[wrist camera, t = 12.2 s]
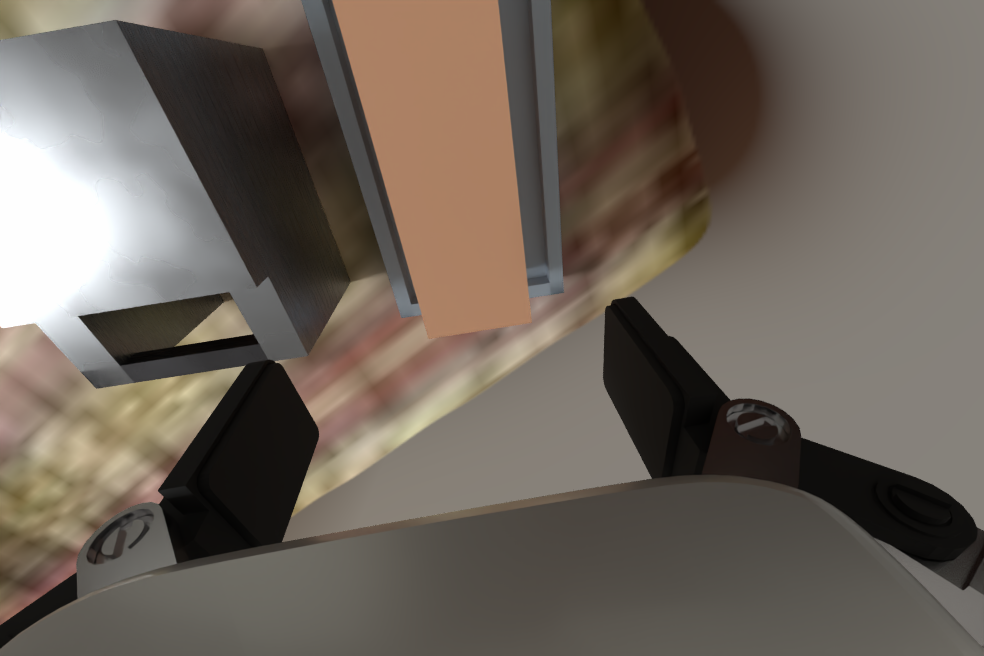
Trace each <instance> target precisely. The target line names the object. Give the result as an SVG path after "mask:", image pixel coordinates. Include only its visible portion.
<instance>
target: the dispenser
mask: <svg viewBox="0 0 984 656" xmlns="http://www.w3.org/2000/svg"><path fill="white" fill-rule="evenodd" d="M349 284H350V280H349V277H348V274H347V272H346V269H345V266H344V264H343V261H342V258H341V256H340V253H339V251H338V248H337V245H336V243H335V240H334V237H333V235H332V232H331V229H330V227H329V224H328V221H327V219H326V216H325V213H324V211H323V208H322V206H321V203H320V200H319V198H318V195H317V192H316V190H315V187H314V184H313V182H312V179H311V176H310V174H309V171H308V168H307V166H306V163H305V161H304V158H303V155H302V153H301V150H300V147H299V145H298V142H297V139H296V137H295V134H294V131H293V129H292V126H291V123H290V121H289V118H288V116H287V113H286V110H285V108H284V105H283V102H282V100H281V97H280V94H279V92H278V89H277V86H276V84H275V81H274V78H273V76H272V73H271V71H270V68H269V65H268V63H267V60H266V57H265V55H264V52H263V49H262V48H257V47H251V46H246V45H241V44H236V43H231V42H226V41H221V40H215V39H210V38H205V37H200V36H195V35H190V34H184V33H179V32H174V31H169V30H164V29H159V28H154V27H148V26H143V25H138V24H133V23H128V22H123V21H118V20H113V21H107V22H102V23H96V24H90V25H84V26H79V27H73V28H67V29H62V30H56V31H50V32H44V33H39V34H33V35H27V36H22V37H16V38H10V39H4V40H0V326H1V327H2V328H6V327H12V326H19V325H25V324H31V323H36V324H37V325H38V326H39V328H40V329H41V330H42V331H43V332H44V333H45V334H46V335H47V336H48V337H49V338H50V339H51V340H52V341H53V343H54V344H55V345H56V346H57V347H58V348H59V349H60V350H61V351H62V352H63V353H64V354H65V355H66V357H67V358H68V359H69V360H70V361H71V362H72V363H73V364H74V365H75V366H76V367H77V368H78V369H79V370H80V372H81V373H82V374H83V375H84V376H85V377H86V378H87V379H88V380H89V381H90V382H91V383H92V384H93V385H94V387H95V388H96V389H97V388H103V387H110V386H116V385H123V384H129V383H136V382H142V381H149V380H155V379H161V378H168V377H174V376H181V375H187V374H194V373H200V372H207V371H213V370H220V369H226V368H233V367H239V366H245V365H247V364H248V363H251V362H257V361H263V360H269V359H270V360H273V361H278V360H284V359H291V358H297V357H304V356H308V355H309V353H310V352H311V350H312V348H313V346H314V345H315V343H316V341H317V339H318V338H319V336H320V334H321V332H322V331H323V329H324V327H325V326H326V324H327V322H328V320H329V319H330V317H331V315H332V313H333V312H334V310H335V308H336V306H337V305H338V303H339V301H340V299H341V298H342V296H343V294H344V293H345V291H346V289H347V287H348V286H349ZM226 292H230V294H231V296H232V297H233V299H234V301H235V303H236V304H237V306H238V308H239V310H240V311H241V313H242V315H243V317H244V318H245V320H246V322H247V323H248V325H249V327H250V329H251V330H252V332H253V334H252V335H246V336H239V337H233V338H227V339H220V340H214V341H208V342H201V343H195V344H188V345H182V346H176V345H177V344H178V343H179V342H180V341H181V340H182V339H183V338H184V337H186V336H187V335H188V334H189V333H190V332H191V331H192V330H193V329H194V328H196V327H197V326H198V325H199V324H200V323H201V322H202V321H203V320H204V319H206V318H207V317H208V316H209V315H210V314H211V313H212V312H213V311H214V310H216V309H217V308H218V307H219V306H220V305H221V304H222V303H223V300H222V299H221V297H220V295H219V294H220V293H226ZM174 346H176V347H174Z"/></svg>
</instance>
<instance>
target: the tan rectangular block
mask: <svg viewBox="0 0 984 656" xmlns="http://www.w3.org/2000/svg"><path fill="white" fill-rule="evenodd" d="M332 1H333V5H334V8H335V12H336V15H337V19H338V22H339V26H340V29H341V33H342V37H343V40H344V44H345V47H346V51H347V54H348V58H349V61H350V65H351V68H352V72H353V75H354V79H355V82H356V86H357V89H358V93H359V96H360V100H361V103H362V107H363V110H364V114H365V117H366V121H367V124H368V128H369V131H370V135H371V138H372V142H373V145H374V149H375V152H376V156H377V159H378V163H379V166H380V170H381V173H382V177H383V180H384V184H385V187H386V191H387V194H388V198H389V201H390V205H391V209H392V212H393V216H394V219H395V223H396V226H397V230H398V233H399V237H400V240H401V244H402V247H403V251H404V254H405V258H406V261H407V265H408V268H409V272H410V275H411V279H412V282H413V286H414V289H415V293H416V296H417V300H418V303H419V307H420V310H421V314H422V317H423V321H424V324H425V328H426V331H427V335H428V338H429V339H432V338H438V337H444V336H451V335H457V334H463V333H470V332H476V331H482V330H489V329H495V328H501V327H508V326H514V325H520V324H527V323H532V320H531V311H530V301H529V292H528V282H527V273H526V263H525V253H524V244H523V234H522V225H521V215H520V206H519V196H518V186H517V177H516V167H515V158H514V148H513V139H512V129H511V119H510V110H509V100H508V91H507V81H506V72H505V62H504V53H503V43H502V33H501V24H500V14H499V5H498V0H332Z"/></svg>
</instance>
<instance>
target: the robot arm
mask: <svg viewBox="0 0 984 656" xmlns="http://www.w3.org/2000/svg"><path fill="white" fill-rule="evenodd" d="M603 380H604V385H605V388H606V390H607V392H608V394H609V396H610V398H611V400H612V402H613V404H614V406H615V408H616V410H617V411H618V414H619V415H620V417H621V419H622V421H623V423H624V425H625V427H626V429H627V431H628V433H629V435H630V437H631V439H632V441H633V443H634V445H635V446H636V448H637V450H638V452H639V454H640V456H641V458H642V460H643V462H644V464H645V466H646V468H647V470H648V472H649V474H650V476H651V477H652V479H647V480H641V481H634V482H628V483H621V484H615V485H608V486H602V487H595V488H589V489H583V490H577V491H571V492H565V493H559V494H553V495H547V496H542V497H536V498H530V499H524V500H518V501H513V502H506V503H501V504H495V505H489V506H483V507H478V508H472V509H466V510H460V511H455V512H449V513H444V514H437V515H432V516H426V517H420V518H415V519H409V520H404V521H398V522H392V523H387V524H381V525H375V526H370V527H364V528H358V529H353V530H348V531H343V532H337V533H331V534H325V535H320V536H314V537H309V538H303V539H298V540H293V541H287V542H282V540H283V537H284V535H285V532H286V529H287V526H288V523H289V521H290V518H291V515H292V512H293V509H294V507H295V504H296V501H297V498H298V495H299V493H300V490H301V487H302V484H303V481H304V478H305V476H306V473H307V470H308V467H309V464H310V462H311V459H312V456H313V453H314V450H315V448H316V445H317V442H318V439H319V431H318V427H317V425H316V424H315V422H314V420H313V418H312V417H311V415H310V413H309V411H308V410H307V408H306V406H305V404H304V403H303V401H302V399H301V397H300V396H299V394H298V392H297V391H296V389H295V387H294V385H293V384H292V382H291V380H290V378H289V377H288V375H287V373H286V371H285V370H284V368H283V366H282V365H281V364H279V363H275V362H274V361H273V360H270V359H269V360H263V361H257V362H251V363H248V364H247V365H246V366H245V367H244V369H243V370H242V371H241V373H240V374H239V376H238V377H237V379H236V380H235V381H234V383H233V384H232V386H231V387H230V388H229V390H228V391H227V393H226V394H225V396H224V397H223V398H222V400H221V401H220V403H219V404H218V406H217V407H216V408H215V410H214V411H213V413H212V414H211V416H210V417H209V418H208V420H207V421H206V423H205V424H204V426H203V427H202V428H201V430H200V431H199V433H198V434H197V436H196V437H195V438H194V440H193V441H192V443H191V444H190V445H189V447H188V448H187V450H186V451H185V453H184V454H183V455H182V457H181V458H180V460H179V461H178V463H177V464H176V465H175V467H174V468H173V470H172V471H171V473H170V474H169V475H168V477H167V478H166V480H165V481H164V483H163V484H162V485H161V487H160V488H159V490H158V492H159V493H161V494H162V495H163V496H164V498H163V499H162V501H161V502H160V504H156V503H153V502H148V503H141V504H138V505H135V506H132V507H130V508H128V509H126V510H124V511H122V512H120V513H118V514H117V515H115V516H114V517H112V518H111V519H110V520H108V521H107V522H105V523H104V524H103V525H102V526H101V527H100V528H99V529H98V530H96V531H95V532H94V533H93V534H92V536H91V537H90V538H89V539H88V540H87V542H86V543H85V544H84V546H83V547H82V549H81V551H80V553H79V554H78V559H77V563H76V566H77V572H76V573H75V574H73V575H72V576H70V577H69V578H68V579H66V580H65V581H63V582H62V583H60V584H59V585H58V586H56V587H55V588H53V589H52V590H50V591H49V592H47V593H46V594H45V595H43V596H42V597H40V598H39V599H37V600H36V601H35V602H33V603H32V604H30V605H29V606H27V607H26V608H24V609H23V610H22V611H20V612H19V613H17V614H16V615H14V616H13V617H12V618H10V619H9V620H7V621H6V622H4V623H3V624H1V625H0V656H984V531H983V530H981V529H979V528H977V527H976V524H975V522H974V520H973V518H972V517H971V515H970V514H969V513H968V512H967V511H966V510H965V508H964V507H963V506H962V505H961V504H960V503H959V502H957V501H956V500H955V499H954V498H953V497H951V496H950V495H949V494H947V493H946V492H944V491H942V490H940V489H939V488H937V487H935V486H934V485H932V484H930V483H927V482H925V481H923V480H921V479H918V478H916V477H913V476H910V475H907V474H905V473H902V472H899V471H896V470H893V469H890V468H887V467H884V466H881V465H878V464H875V463H873V462H870V461H867V460H864V459H861V458H858V457H855V456H853V455H850V454H847V453H844V452H841V451H838V450H835V449H833V448H830V447H827V446H824V445H821V444H818V443H815V442H812V441H810V440H807V439H803V438H801V433H800V428H799V426H798V425H797V423H796V422H795V421H794V419H793V418H792V417H791V416H790V415H788V414H787V413H786V412H785V411H783V410H781V409H780V408H778V407H776V406H774V405H772V404H769V403H766V402H764V401H760V400H755V399H735V400H730V399H729V398H728V397H727V396H726V395H725V394H724V392H723V391H722V390H721V389H720V388H719V387H718V386H717V385H716V384H715V382H714V381H713V380H712V379H711V378H710V377H709V376H708V375H707V373H706V372H705V371H704V370H703V369H702V368H701V367H700V365H699V364H698V363H697V362H696V361H695V360H694V359H693V358H692V356H691V355H690V354H689V353H688V352H687V351H686V350H685V349H684V348H683V346H682V345H681V344H680V343H679V342H678V341H677V340H676V339H675V338H674V337H671V336H668V335H667V334H666V333H665V332H664V331H663V330H662V328H661V327H660V326H659V325H658V324H657V323H656V321H654V319H653V318H652V317H651V316H650V315H649V313H648V312H647V311H646V310H645V309H644V308H643V307H642V305H641V304H640V303H639V302H638V301H637V300H636V299H635V298H634V297H627V298H621V299H615V300H613V301H612V303H611V305H610V306H607V307H606V309H605V335H604V367H603Z"/></svg>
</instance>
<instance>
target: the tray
mask: <svg viewBox="0 0 984 656" xmlns="http://www.w3.org/2000/svg"><path fill="white" fill-rule="evenodd" d="M301 1H302V4H303V7H304V11H305V14H306V17H307V20H308V23H309V26H310V30H311V33H312V36H313V39H314V42H315V45H316V49H317V52H318V55H319V58H320V61H321V64H322V68H323V71H324V74H325V77H326V80H327V83H328V87H329V90H330V93H331V96H332V99H333V102H334V106H335V109H336V112H337V115H338V118H339V121H340V125H341V128H342V131H343V134H344V137H345V140H346V144H347V147H348V150H349V153H350V156H351V159H352V163H353V166H354V169H355V172H356V175H357V178H358V182H359V185H360V188H361V191H362V194H363V198H364V201H365V204H366V207H367V210H368V213H369V217H370V220H371V223H372V226H373V229H374V232H375V236H376V239H377V242H378V245H379V248H380V251H381V255H382V258H383V261H384V264H385V267H386V270H387V274H388V277H389V280H390V283H391V286H392V289H393V293H394V296H395V299H396V302H397V305H398V308H399V312H400V315H401V318H405V317H411V316H418V315H422V314H421V310H420V307H419V303H418V300H417V296H416V293H415V289H414V286H413V282H412V279H411V275H410V272H409V268H408V265H407V261H406V258H405V254H404V251H403V247H402V244H401V240H400V237H399V233H398V230H397V226H396V223H395V219H394V216H393V212H392V209H391V205H390V201H389V198H388V194H387V191H386V187H385V184H384V180H383V177H382V173H381V170H380V166H379V163H378V159H377V156H376V152H375V149H374V145H373V142H372V138H371V135H370V131H369V128H368V124H367V121H366V117H365V114H364V110H363V107H362V103H361V100H360V96H359V93H358V89H357V86H356V82H355V79H354V75H353V72H352V68H351V65H350V61H349V58H348V54H347V51H346V47H345V44H344V40H343V37H342V33H341V29H340V26H339V22H338V19H337V15H336V12H335V8H334V5H333V1H332V0H301ZM498 5H499V14H500V24H501V33H502V43H503V53H504V62H505V72H506V81H507V91H508V100H509V110H510V119H511V129H512V139H513V148H514V158H515V167H516V177H517V186H518V196H519V206H520V215H521V225H522V234H523V244H524V253H525V263H526V273H527V282H528V292H529V298H533V297H539V296H546V295H552V294H559V293H564V289H563V266H562V244H561V221H560V199H559V176H558V154H557V131H556V108H555V86H554V63H553V41H552V18H551V0H498Z"/></svg>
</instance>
